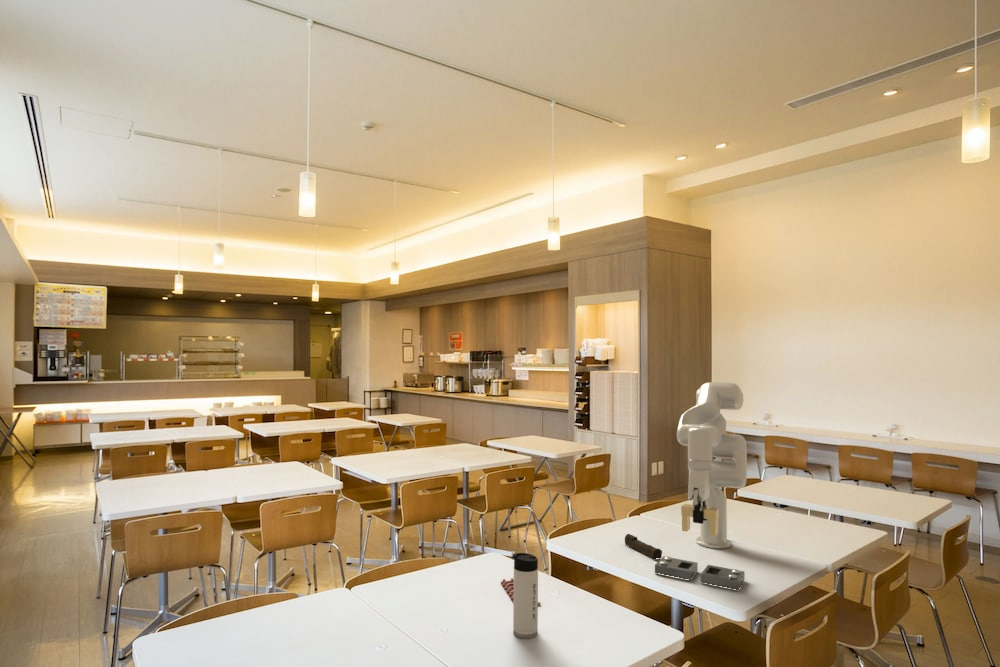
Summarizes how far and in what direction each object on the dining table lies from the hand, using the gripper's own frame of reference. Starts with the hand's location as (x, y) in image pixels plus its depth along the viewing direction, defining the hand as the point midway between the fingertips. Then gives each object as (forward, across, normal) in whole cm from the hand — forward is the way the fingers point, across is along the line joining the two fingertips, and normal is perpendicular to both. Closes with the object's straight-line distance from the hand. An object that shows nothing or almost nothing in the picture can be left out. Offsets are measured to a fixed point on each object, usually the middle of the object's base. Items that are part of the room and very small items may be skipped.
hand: (699, 520), depth 194 cm
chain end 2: (+18, +1, +7) cm, 19 cm away
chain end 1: (+18, +1, -7) cm, 19 cm away
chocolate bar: (+19, +45, -42) cm, 64 cm away
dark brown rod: (+18, -13, -25) cm, 33 cm away
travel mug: (+19, +66, -28) cm, 74 cm away
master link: (+4, 0, 0) cm, 4 cm away
